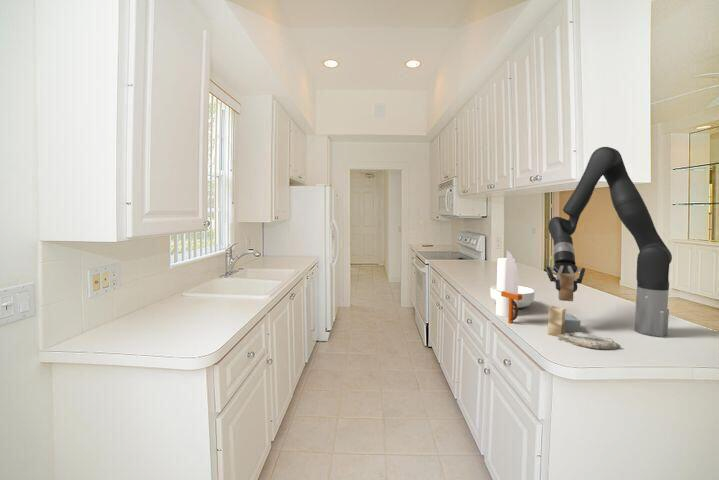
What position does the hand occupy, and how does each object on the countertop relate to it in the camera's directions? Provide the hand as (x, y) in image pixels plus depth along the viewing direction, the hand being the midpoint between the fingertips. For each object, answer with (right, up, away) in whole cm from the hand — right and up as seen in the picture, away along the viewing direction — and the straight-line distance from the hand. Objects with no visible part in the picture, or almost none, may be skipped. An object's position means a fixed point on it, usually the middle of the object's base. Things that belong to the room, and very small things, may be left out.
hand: (566, 290), depth 135 cm
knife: (-17, -15, +11) cm, 25 cm away
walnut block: (+1, -4, +2) cm, 5 cm away
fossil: (0, -17, -12) cm, 21 cm away
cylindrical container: (-15, -14, +22) cm, 30 cm away
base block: (+1, -16, +3) cm, 16 cm away
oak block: (-6, -16, -3) cm, 18 cm away
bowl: (-6, -13, +36) cm, 39 cm away
